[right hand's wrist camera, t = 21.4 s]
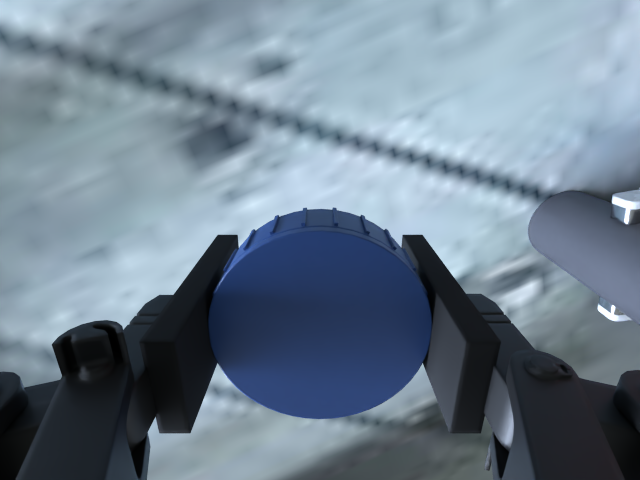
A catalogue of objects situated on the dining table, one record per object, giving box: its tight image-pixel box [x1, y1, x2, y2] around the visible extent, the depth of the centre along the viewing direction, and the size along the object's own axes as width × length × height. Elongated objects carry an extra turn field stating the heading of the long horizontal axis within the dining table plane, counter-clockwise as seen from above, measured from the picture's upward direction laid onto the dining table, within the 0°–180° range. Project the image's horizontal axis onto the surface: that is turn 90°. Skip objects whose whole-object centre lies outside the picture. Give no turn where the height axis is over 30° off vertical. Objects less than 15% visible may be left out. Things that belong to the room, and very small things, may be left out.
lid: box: [208, 208, 432, 419], centre depth 11 cm, size 6×6×2 cm
